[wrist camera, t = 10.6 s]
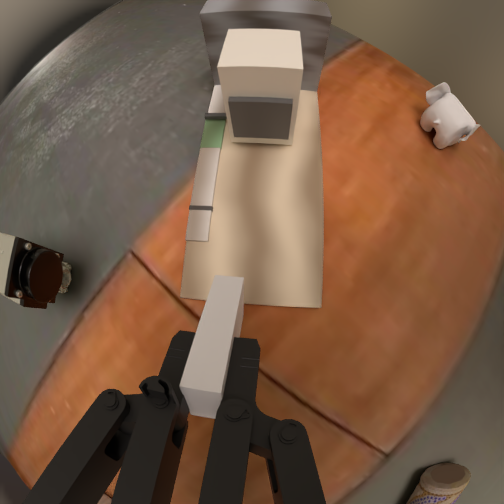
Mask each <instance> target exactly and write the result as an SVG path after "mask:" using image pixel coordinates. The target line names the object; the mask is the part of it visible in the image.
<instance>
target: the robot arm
mask: <svg viewBox="0 0 504 504" xmlns="http://www.w3.org/2000/svg"><path fill="white" fill-rule="evenodd" d="M243 311H244V277H233V276H222V275H215V277H214V280H213V282H212V285H211V288H210V291H209V294H208V297H207V300H206V303H205V306H204V309H203V312H202V316H201V319H200V322H199V325H198V328H197V331H196V333H194V332H187V331H181V330H180V331H179V332H178V333H177V334H176V335H175V336H174V337H173V338H172V341H171V343H170V346H169V349H168V351H167V354H166V357H165V359H164V362H163V364H162V367H161V370H160V373H159V375H158V376H151V377H148V378H146V379H145V380H143V381H142V382H141V384H140V385H139V388H140V389H141V391H142V393H143V394H132V395H123V394H122V393H121V392H120V391H119V390H116V389H107V390H105V391H103V392H102V393H101V394H100V395H99V396H98V397H97V399H96V400H95V401H94V403H93V404H92V405H91V407H90V408H89V409H88V411H87V412H86V413H85V415H84V416H83V417H82V419H81V420H80V421H79V423H78V424H77V425H76V427H75V428H74V429H73V431H72V432H71V434H70V435H69V436H68V438H67V439H66V440H65V442H64V443H63V445H62V446H61V447H60V449H59V450H58V452H57V453H56V455H55V456H54V457H53V459H52V460H51V462H50V463H49V465H48V466H47V467H46V469H45V470H44V472H43V473H42V475H41V476H40V478H39V479H38V481H37V482H36V484H35V485H34V487H33V488H32V490H31V491H30V493H29V494H28V496H27V497H26V499H25V500H24V502H23V503H22V504H97V503H98V502H99V500H100V499H101V497H102V496H103V494H104V493H105V491H106V490H107V488H108V486H109V485H110V483H111V482H112V480H113V479H114V477H115V476H116V474H117V473H118V471H119V469H120V468H121V470H120V473H119V476H118V480H117V483H116V487H115V490H114V494H113V497H112V501H111V504H170V502H171V498H172V493H173V489H174V484H175V480H176V476H177V471H178V467H179V463H180V458H181V454H182V450H183V446H184V442H185V437H186V433H187V429H188V421H187V417H188V413H189V411H190V414H191V415H196V416H201V417H207V418H213V419H215V423H214V428H213V433H212V438H211V443H210V448H209V453H208V458H207V463H206V468H205V473H204V478H203V483H202V488H201V493H200V498H199V503H198V504H242V501H243V494H244V487H245V480H246V472H247V465H248V457H249V452H252V453H254V454H256V455H259V456H262V457H264V458H265V459H266V464H267V469H268V474H269V479H270V484H271V489H272V494H273V499H274V504H326V501H325V498H324V494H323V490H322V486H321V483H320V479H319V475H318V471H317V468H316V464H315V460H314V457H313V453H312V449H311V446H310V442H309V438H308V435H307V431H306V429H305V427H304V426H303V425H302V424H301V423H300V422H298V421H295V420H292V419H284V420H282V421H280V420H277V419H275V418H272V417H269V416H267V415H265V414H263V413H262V412H261V411H260V410H259V409H258V407H257V405H256V402H255V397H256V388H257V379H258V369H259V359H260V346H259V344H258V341H257V339H249V338H240V332H241V326H242V320H243ZM121 466H122V467H121Z"/></svg>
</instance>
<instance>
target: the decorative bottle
mask: <svg viewBox="0 0 504 504" xmlns="http://www.w3.org/2000/svg"><path fill="white" fill-rule="evenodd" d="M470 478H471V473H470V471H469V470H468V469H467V468H466V467H464V466H461V465H459V464H455V463H440V464H436V465H433V466H431V467H429V468H427V469H426V471H425V472H424V473H423V474H422V476H421V478H420V482H419V484H418V485H417V486H416V488H415V490H414V492H413V493H412V495H411V496H410V498H409V500H408V501H407V503H406V504H455V502H456V500H457V499H458V498H459V496H460V494H461V493H462V491H463V489H464V488H465V487H466V486H467V484H468V483H469V480H470Z"/></svg>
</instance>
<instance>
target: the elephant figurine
mask: <svg viewBox="0 0 504 504" xmlns="http://www.w3.org/2000/svg"><path fill="white" fill-rule="evenodd" d="M426 100H427V103H428V104H429V105H431V106H430V107H428V108H427V109H426V110H425V111H424V113H423V114H422V116H421V121H420V125H421V127H422V128H423V129H424V130H425V131H427V132H430V131H431V130H432V128H433V127H434V128H435V130H436V135H435V137H434V138H433V142H434V144H435V146H436V147H437V148H439V149H443V148H445V147H447V146H451V145H453V144H455V143H457V142H458V143H460V141H461V140H462V141H466V140H467V139H468V137H469V136H470V135H471V134H472V133H474V132H475V131H476V129H477V128H478V127H480V125H478V124H476V123H475V121H474V119H473V118H472V117H471V115H470V114H469V113H468V112H467V110H466V109H465V108H464V107H463V105H462V104H461V103H460V102H459V100H458V99H457V98H456V97H455V96H454V95H453V94H451V92H450V87H449V86H448V84H447V83H445V82H443V83H441V84H439V85H437V86H436V87H434V88H432V89H430V90H428V91H427V92H426ZM465 134H466V136H465V137H464V138H462V136H463V135H465Z"/></svg>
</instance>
